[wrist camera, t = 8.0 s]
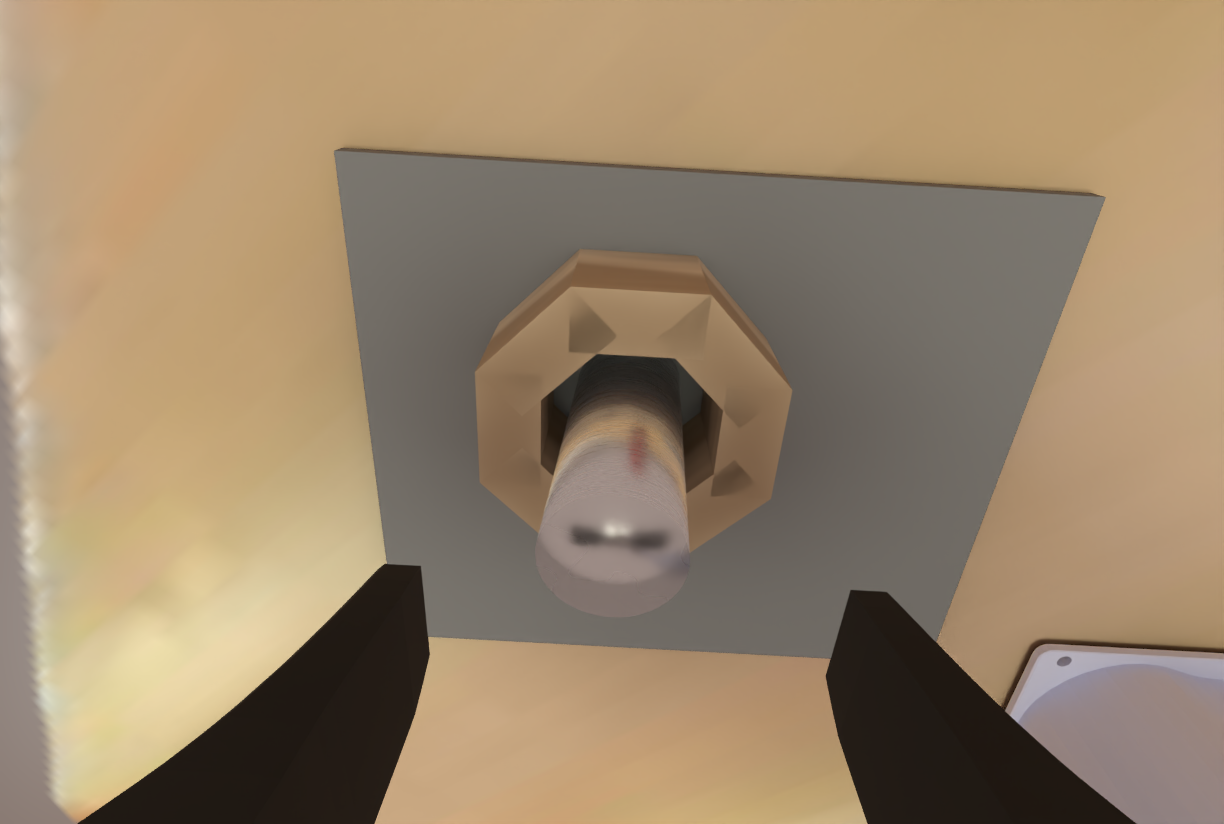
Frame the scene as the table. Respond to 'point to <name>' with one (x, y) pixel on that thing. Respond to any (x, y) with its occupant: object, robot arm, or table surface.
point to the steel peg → (618, 491)
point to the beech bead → (634, 326)
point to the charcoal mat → (800, 339)
